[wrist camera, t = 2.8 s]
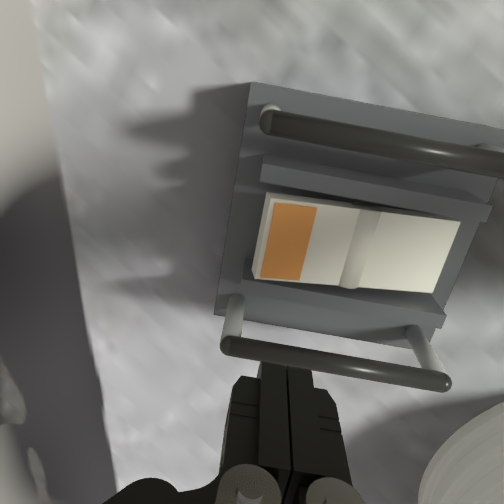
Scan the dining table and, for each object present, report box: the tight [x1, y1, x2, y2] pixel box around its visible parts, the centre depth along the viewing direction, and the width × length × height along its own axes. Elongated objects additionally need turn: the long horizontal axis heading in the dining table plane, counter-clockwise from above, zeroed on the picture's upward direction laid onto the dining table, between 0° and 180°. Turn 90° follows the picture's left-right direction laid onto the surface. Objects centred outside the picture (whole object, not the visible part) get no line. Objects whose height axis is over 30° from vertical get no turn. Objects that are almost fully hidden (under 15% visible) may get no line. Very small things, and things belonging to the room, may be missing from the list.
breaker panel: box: [214, 82, 504, 393], centre depth 26 cm, size 16×16×10 cm
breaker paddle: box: [252, 192, 461, 293], centre depth 25 cm, size 12×5×2 cm, turn 80°
